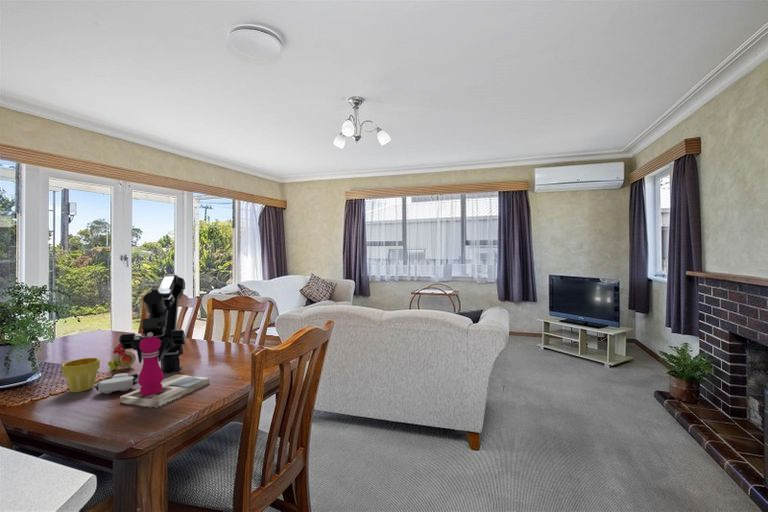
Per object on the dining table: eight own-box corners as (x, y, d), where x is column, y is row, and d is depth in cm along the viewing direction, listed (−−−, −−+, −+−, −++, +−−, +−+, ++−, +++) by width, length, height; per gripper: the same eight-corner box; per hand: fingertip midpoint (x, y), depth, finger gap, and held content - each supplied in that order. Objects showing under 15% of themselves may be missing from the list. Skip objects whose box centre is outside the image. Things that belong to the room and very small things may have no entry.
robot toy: (102, 387, 135) (91, 398, 122) (102, 374, 135) (91, 384, 122) (142, 381, 140) (136, 392, 127) (141, 369, 141) (136, 378, 127)
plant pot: (59, 397, 124) (58, 368, 123) (65, 387, 132) (65, 360, 132) (98, 390, 129) (97, 362, 129) (101, 381, 138) (101, 355, 138)
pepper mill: (168, 390, 123) (167, 331, 123) (145, 398, 117) (143, 335, 116) (157, 385, 127) (155, 328, 126) (134, 393, 121) (132, 332, 120)
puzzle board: (120, 402, 119) (120, 395, 119) (177, 379, 140) (176, 373, 140) (156, 408, 114) (156, 400, 114) (209, 383, 135) (209, 377, 135)
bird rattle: (129, 370, 157) (105, 365, 153) (141, 345, 159) (118, 339, 155) (128, 375, 152) (103, 369, 147) (141, 349, 154) (116, 343, 149)
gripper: (120, 309, 122) (108, 351, 112) (183, 306, 128) (178, 346, 118) (128, 328, 130) (118, 369, 119) (187, 324, 136) (182, 363, 126)
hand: (149, 361), depth 121 cm, fingers closed on pepper mill, 5 cm apart
